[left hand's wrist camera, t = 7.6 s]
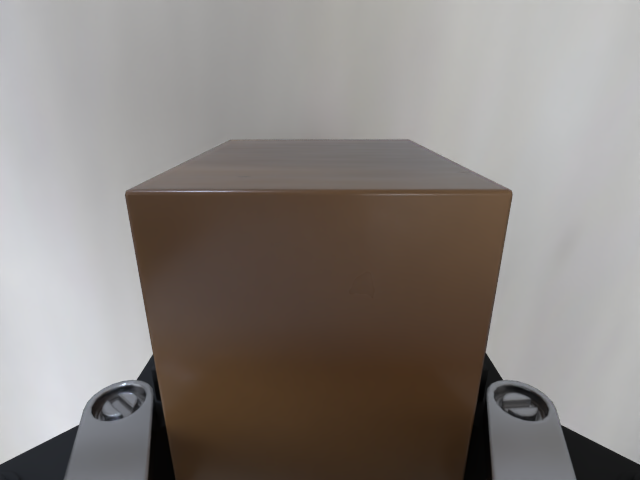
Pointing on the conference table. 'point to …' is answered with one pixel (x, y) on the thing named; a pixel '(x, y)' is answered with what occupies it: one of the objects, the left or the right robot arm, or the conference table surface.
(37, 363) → the conference table surface
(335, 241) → the post
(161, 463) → the left robot arm
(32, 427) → the conference table surface
